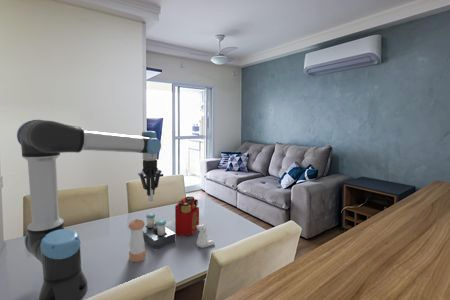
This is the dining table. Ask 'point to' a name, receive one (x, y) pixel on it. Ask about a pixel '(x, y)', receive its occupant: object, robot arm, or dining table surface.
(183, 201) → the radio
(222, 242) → the dining table surface
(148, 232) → the mount
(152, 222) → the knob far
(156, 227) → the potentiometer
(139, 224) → the salt shaker
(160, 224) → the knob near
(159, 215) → the dining table surface
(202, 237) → the sitting furry creature
